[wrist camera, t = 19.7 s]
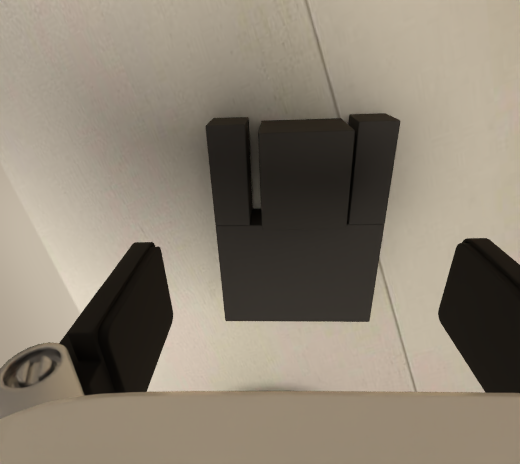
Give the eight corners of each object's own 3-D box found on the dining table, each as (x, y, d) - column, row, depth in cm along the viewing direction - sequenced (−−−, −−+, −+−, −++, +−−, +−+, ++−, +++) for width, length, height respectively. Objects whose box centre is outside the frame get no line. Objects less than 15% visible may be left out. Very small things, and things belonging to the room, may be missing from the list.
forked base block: (229, 298, 31) (225, 321, 28) (213, 118, 24) (205, 125, 21) (361, 299, 30) (369, 322, 28) (386, 113, 23) (400, 120, 20)
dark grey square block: (264, 204, 26) (262, 230, 22) (261, 120, 24) (258, 133, 20) (335, 203, 26) (346, 229, 22) (341, 118, 23) (355, 130, 19)
